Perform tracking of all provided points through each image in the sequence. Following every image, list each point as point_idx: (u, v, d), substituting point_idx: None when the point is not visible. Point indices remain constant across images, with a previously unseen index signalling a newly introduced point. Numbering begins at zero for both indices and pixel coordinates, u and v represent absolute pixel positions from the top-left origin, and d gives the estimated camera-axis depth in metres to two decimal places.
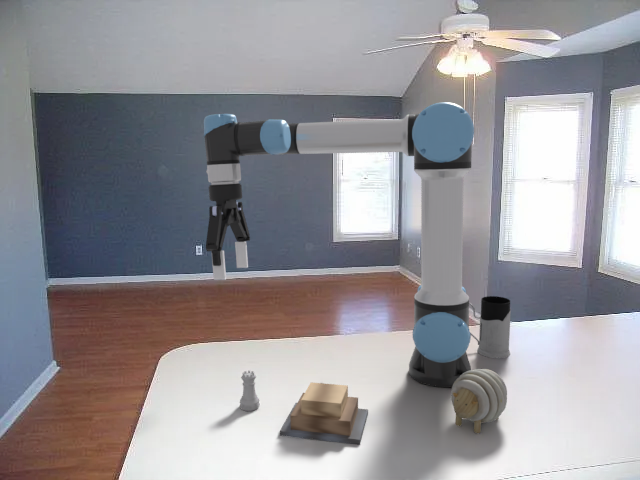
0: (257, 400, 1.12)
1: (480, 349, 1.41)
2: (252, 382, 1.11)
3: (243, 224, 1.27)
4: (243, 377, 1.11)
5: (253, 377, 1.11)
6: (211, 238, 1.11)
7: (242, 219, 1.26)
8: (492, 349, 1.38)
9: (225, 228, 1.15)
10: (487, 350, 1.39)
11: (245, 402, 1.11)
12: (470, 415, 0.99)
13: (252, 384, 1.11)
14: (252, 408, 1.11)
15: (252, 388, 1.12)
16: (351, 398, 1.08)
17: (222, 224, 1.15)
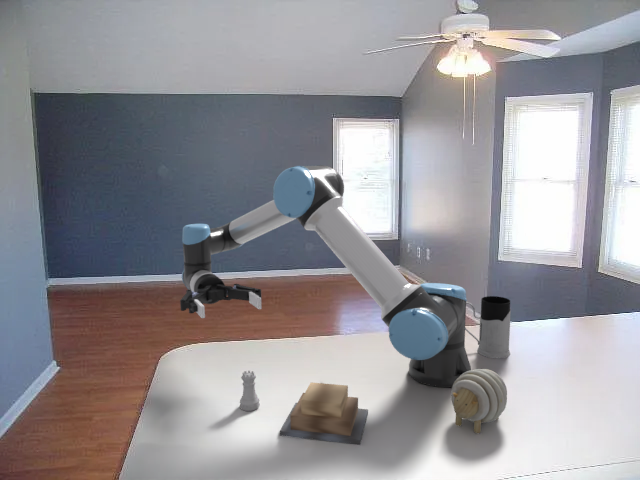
0: (257, 400, 1.12)
1: (480, 349, 1.41)
2: (252, 382, 1.11)
3: (247, 289, 1.31)
4: (243, 377, 1.11)
5: (253, 377, 1.11)
6: None
7: (243, 288, 1.32)
8: (492, 349, 1.38)
9: (200, 293, 1.26)
10: (487, 350, 1.39)
11: (245, 402, 1.11)
12: (470, 415, 0.99)
13: (252, 384, 1.11)
14: (252, 408, 1.11)
15: (252, 388, 1.12)
16: (351, 398, 1.08)
17: None
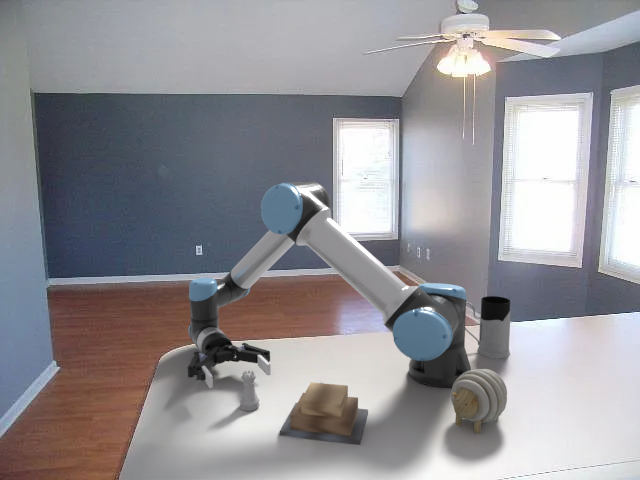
0: (257, 400, 1.12)
1: (480, 349, 1.41)
2: (252, 382, 1.11)
3: (255, 350, 1.28)
4: (243, 377, 1.11)
5: (253, 377, 1.11)
6: None
7: (251, 349, 1.29)
8: (492, 349, 1.38)
9: (208, 357, 1.23)
10: (487, 350, 1.39)
11: (245, 402, 1.11)
12: (470, 415, 0.99)
13: (252, 384, 1.11)
14: (252, 408, 1.11)
15: (252, 388, 1.12)
16: (351, 398, 1.08)
17: None
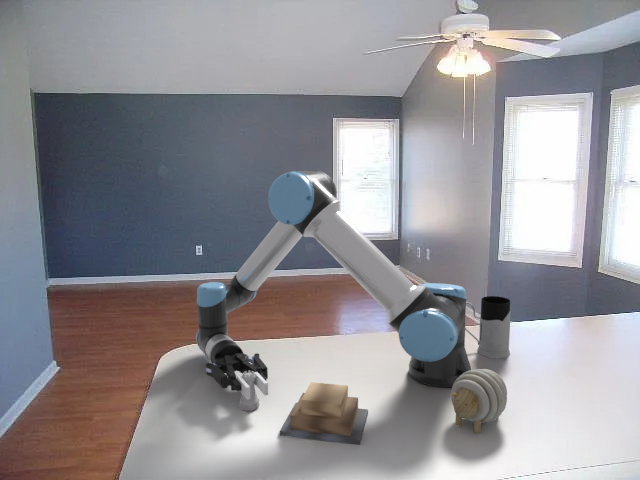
0: (257, 400, 1.12)
1: (480, 349, 1.41)
2: (252, 382, 1.11)
3: (257, 364, 1.19)
4: (243, 377, 1.11)
5: (253, 377, 1.11)
6: (219, 379, 1.13)
7: (256, 361, 1.20)
8: (492, 349, 1.38)
9: (229, 366, 1.17)
10: (487, 350, 1.39)
11: (245, 402, 1.11)
12: (470, 415, 0.99)
13: (252, 384, 1.11)
14: (252, 408, 1.11)
15: (252, 388, 1.12)
16: (351, 398, 1.08)
17: (227, 368, 1.18)
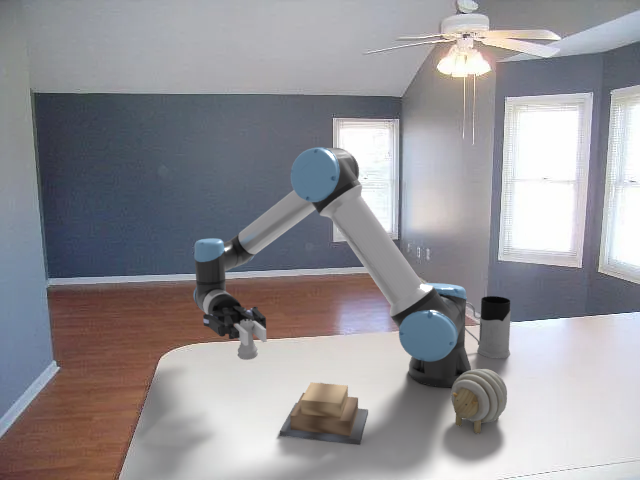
0: (255, 348, 1.10)
1: (480, 349, 1.41)
2: (250, 330, 1.09)
3: (256, 315, 1.17)
4: (241, 325, 1.09)
5: (251, 325, 1.09)
6: (216, 328, 1.11)
7: (254, 313, 1.19)
8: (492, 349, 1.38)
9: (227, 317, 1.15)
10: (487, 350, 1.39)
11: (243, 350, 1.09)
12: (470, 415, 0.99)
13: (250, 332, 1.09)
14: (250, 356, 1.09)
15: (250, 336, 1.10)
16: (351, 398, 1.08)
17: (224, 319, 1.16)
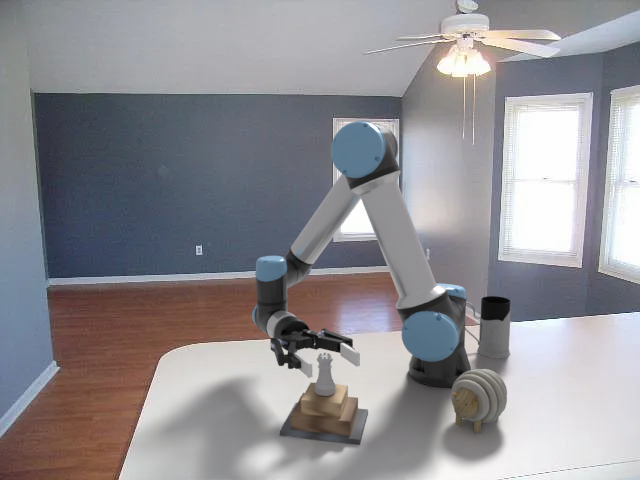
0: (334, 384, 1.03)
1: (480, 349, 1.41)
2: (329, 365, 1.03)
3: (336, 337, 1.12)
4: (320, 359, 1.02)
5: (330, 359, 1.02)
6: (277, 356, 1.04)
7: (331, 335, 1.13)
8: (492, 349, 1.38)
9: (292, 343, 1.08)
10: (487, 350, 1.39)
11: (322, 386, 1.02)
12: (470, 415, 0.99)
13: (329, 367, 1.02)
14: (329, 393, 1.02)
15: (329, 371, 1.03)
16: (351, 398, 1.08)
17: None
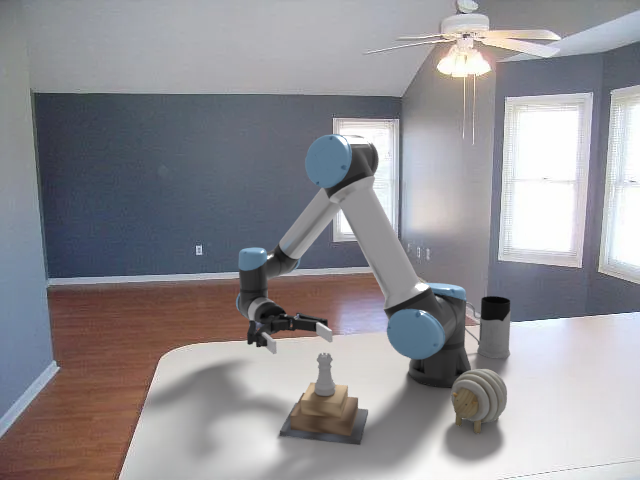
0: (334, 384, 1.03)
1: (480, 349, 1.41)
2: (329, 365, 1.03)
3: (311, 319, 1.24)
4: (319, 359, 1.02)
5: (330, 359, 1.02)
6: None
7: (307, 317, 1.25)
8: (492, 349, 1.38)
9: (265, 325, 1.19)
10: (487, 350, 1.39)
11: (322, 386, 1.02)
12: (470, 415, 0.99)
13: (329, 367, 1.02)
14: (329, 393, 1.02)
15: (329, 371, 1.03)
16: (351, 398, 1.08)
17: None
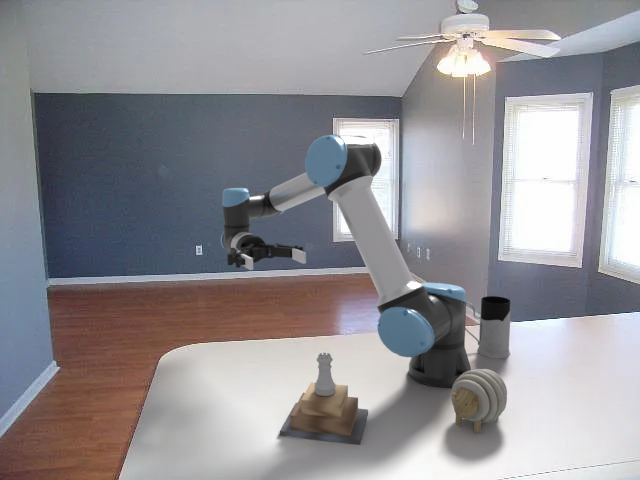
0: (334, 384, 1.03)
1: (480, 349, 1.41)
2: (329, 365, 1.03)
3: (288, 247, 1.34)
4: (319, 359, 1.02)
5: (330, 359, 1.02)
6: None
7: (284, 246, 1.35)
8: (492, 349, 1.38)
9: (245, 250, 1.29)
10: (487, 350, 1.39)
11: (322, 386, 1.02)
12: (470, 415, 0.99)
13: (329, 367, 1.02)
14: (329, 393, 1.02)
15: (329, 371, 1.03)
16: (351, 398, 1.08)
17: None
